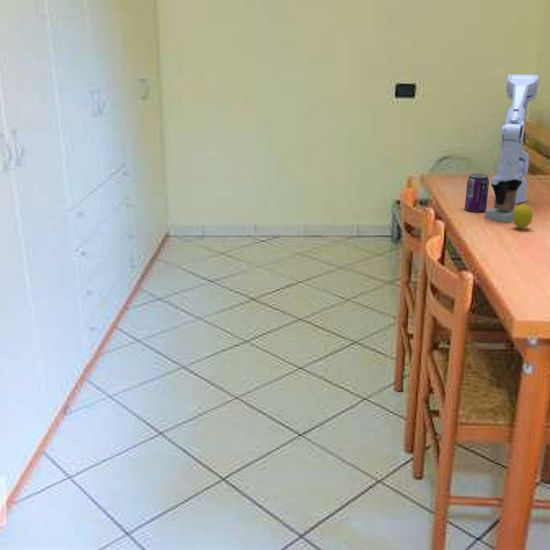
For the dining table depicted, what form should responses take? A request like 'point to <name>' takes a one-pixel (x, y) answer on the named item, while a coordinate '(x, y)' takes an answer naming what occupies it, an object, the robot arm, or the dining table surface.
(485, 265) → the dining table surface
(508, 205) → the walnut block
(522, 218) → the lemon
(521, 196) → the robot arm
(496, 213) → the grey base
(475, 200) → the beverage can
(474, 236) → the dining table surface
